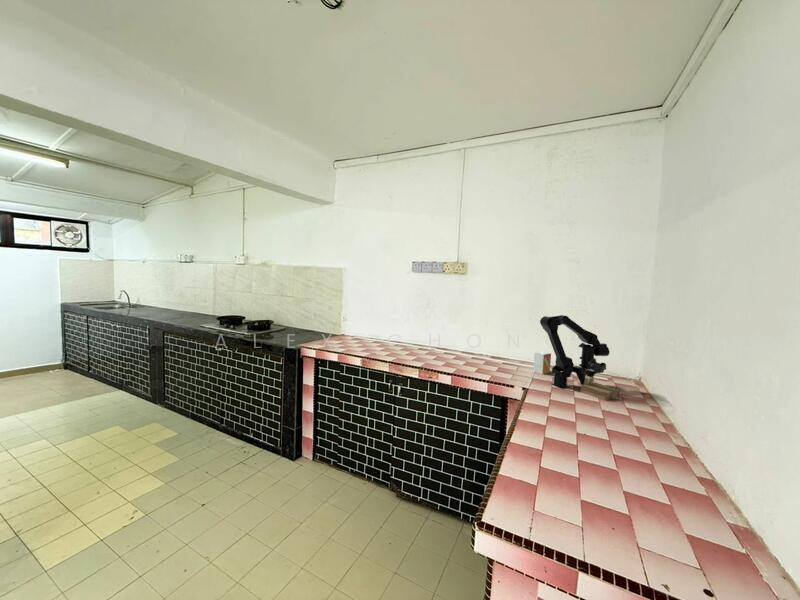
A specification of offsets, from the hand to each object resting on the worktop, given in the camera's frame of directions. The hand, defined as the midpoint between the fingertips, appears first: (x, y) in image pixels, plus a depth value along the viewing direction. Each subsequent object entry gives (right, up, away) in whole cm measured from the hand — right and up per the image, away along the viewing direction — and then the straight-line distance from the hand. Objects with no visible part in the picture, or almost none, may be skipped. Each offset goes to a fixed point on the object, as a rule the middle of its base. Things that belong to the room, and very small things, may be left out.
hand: (585, 384), depth 166 cm
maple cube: (0, -1, 0) cm, 1 cm away
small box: (-15, 0, +21) cm, 25 cm away
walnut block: (-1, -2, -12) cm, 13 cm away
